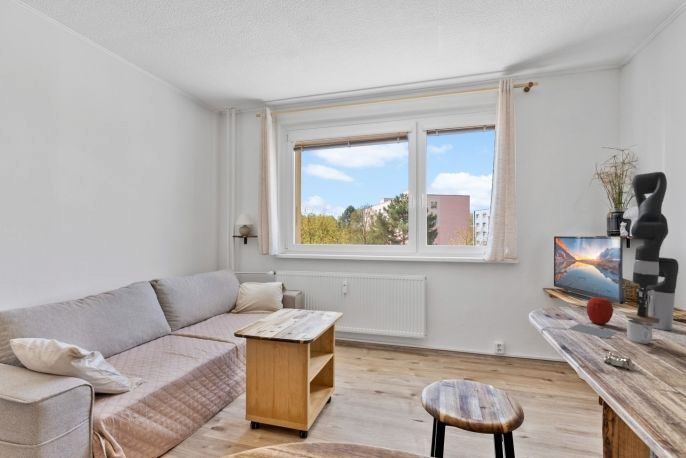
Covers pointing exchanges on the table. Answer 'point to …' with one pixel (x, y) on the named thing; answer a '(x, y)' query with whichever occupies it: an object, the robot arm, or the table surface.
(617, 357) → the ornament
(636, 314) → the lid
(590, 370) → the table surface
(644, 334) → the cup
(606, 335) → the mat
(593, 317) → the apple
